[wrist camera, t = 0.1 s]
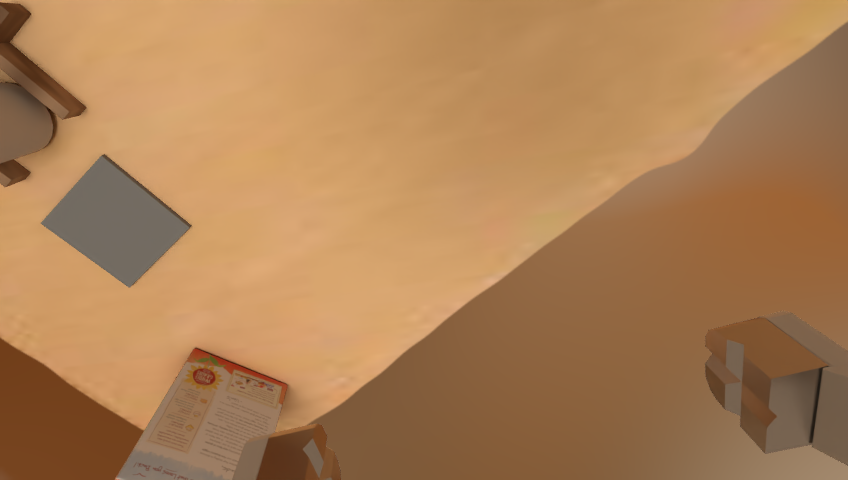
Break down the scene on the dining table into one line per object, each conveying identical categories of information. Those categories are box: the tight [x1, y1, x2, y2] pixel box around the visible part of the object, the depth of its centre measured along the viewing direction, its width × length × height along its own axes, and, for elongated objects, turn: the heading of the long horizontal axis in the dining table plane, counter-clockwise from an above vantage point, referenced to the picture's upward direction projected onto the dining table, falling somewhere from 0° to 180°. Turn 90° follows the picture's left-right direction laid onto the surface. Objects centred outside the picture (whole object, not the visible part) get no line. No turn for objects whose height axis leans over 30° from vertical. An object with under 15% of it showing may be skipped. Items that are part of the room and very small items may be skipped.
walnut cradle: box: [0, 2, 86, 187], centre depth 50 cm, size 10×20×3 cm, turn 132°
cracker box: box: [115, 348, 287, 480], centre depth 58 cm, size 14×6×21 cm, turn 58°
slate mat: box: [41, 155, 191, 287], centre depth 57 cm, size 12×12×1 cm
